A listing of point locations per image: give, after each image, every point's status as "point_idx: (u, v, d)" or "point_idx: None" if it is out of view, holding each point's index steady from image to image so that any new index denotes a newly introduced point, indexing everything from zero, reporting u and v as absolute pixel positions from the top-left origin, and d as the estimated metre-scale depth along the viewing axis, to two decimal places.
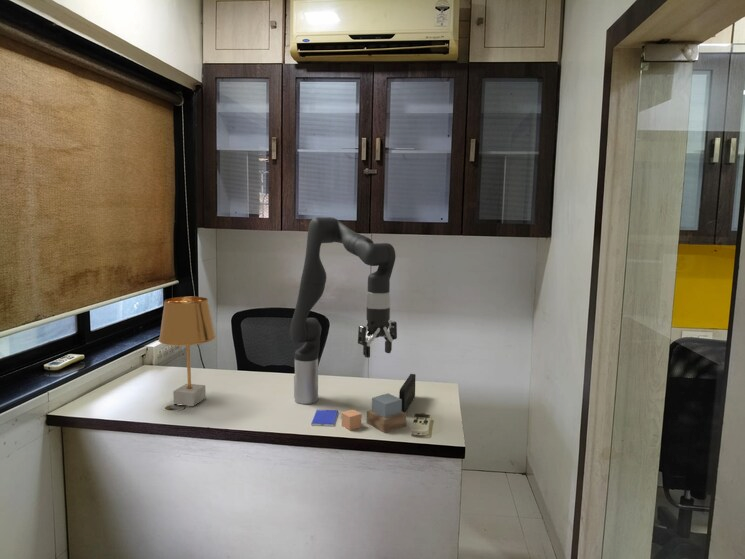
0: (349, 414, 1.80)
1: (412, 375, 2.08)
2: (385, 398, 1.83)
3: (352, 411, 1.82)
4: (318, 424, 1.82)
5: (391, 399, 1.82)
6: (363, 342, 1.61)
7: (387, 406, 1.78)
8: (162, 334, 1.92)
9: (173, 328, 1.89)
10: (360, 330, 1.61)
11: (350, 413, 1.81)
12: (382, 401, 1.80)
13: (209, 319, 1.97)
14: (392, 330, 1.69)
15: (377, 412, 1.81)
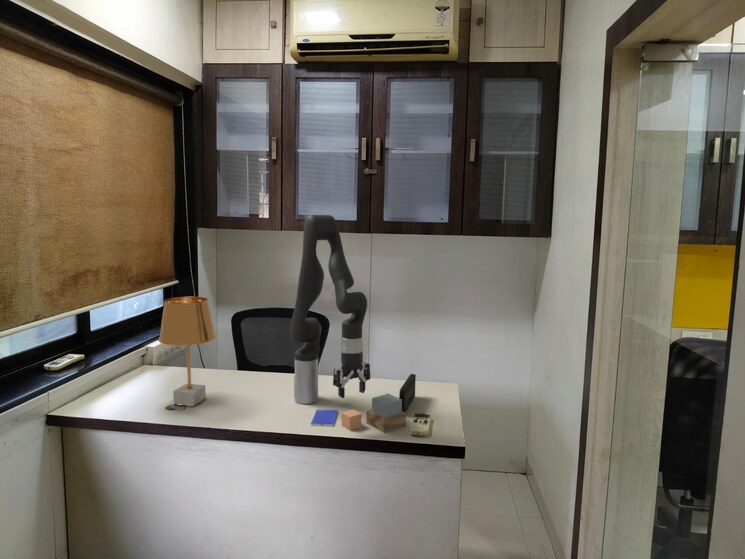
0: (349, 414, 1.80)
1: (412, 375, 2.08)
2: (386, 398, 1.83)
3: (352, 411, 1.83)
4: (318, 424, 1.82)
5: (391, 399, 1.81)
6: (338, 384, 1.74)
7: (387, 406, 1.78)
8: (162, 334, 1.92)
9: (173, 328, 1.89)
10: (335, 373, 1.75)
11: (350, 413, 1.81)
12: (382, 401, 1.79)
13: (209, 319, 1.97)
14: (366, 371, 1.82)
15: (377, 412, 1.81)
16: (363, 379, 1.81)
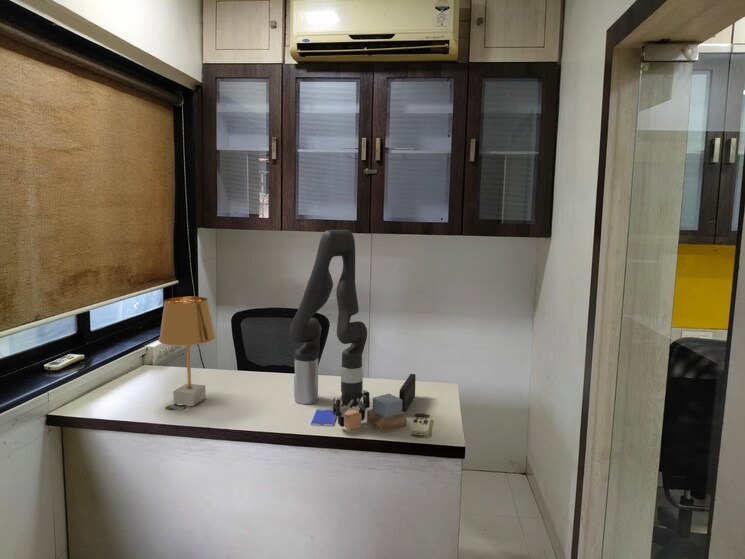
0: (349, 414, 1.80)
1: (412, 375, 2.08)
2: (386, 398, 1.83)
3: (352, 411, 1.82)
4: (318, 424, 1.82)
5: (392, 399, 1.81)
6: (337, 413, 1.76)
7: (387, 406, 1.78)
8: (162, 334, 1.92)
9: (173, 328, 1.89)
10: (335, 403, 1.76)
11: (350, 413, 1.81)
12: (382, 401, 1.79)
13: (209, 319, 1.97)
14: (365, 399, 1.84)
15: (377, 412, 1.81)
16: (362, 407, 1.82)
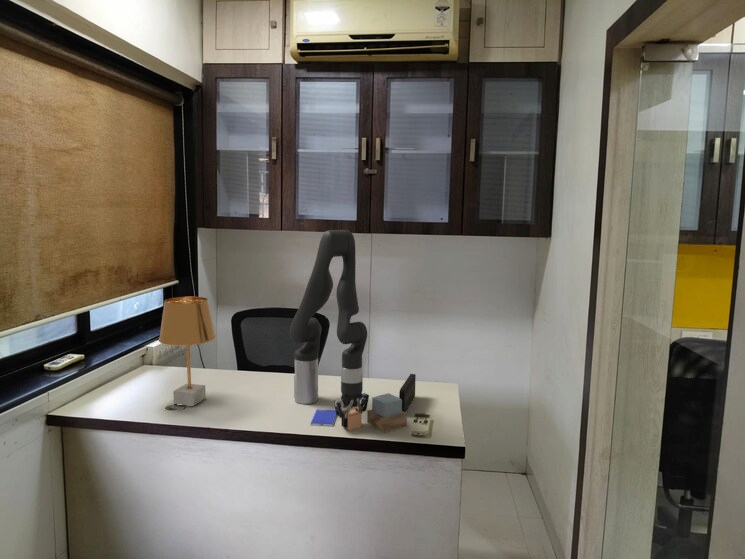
0: (349, 413, 1.80)
1: (412, 375, 2.08)
2: (386, 397, 1.83)
3: (352, 411, 1.82)
4: (317, 424, 1.82)
5: (391, 399, 1.82)
6: (341, 415, 1.77)
7: (387, 406, 1.78)
8: (162, 334, 1.92)
9: (173, 328, 1.89)
10: (336, 406, 1.77)
11: (351, 413, 1.81)
12: (382, 401, 1.80)
13: (209, 319, 1.97)
14: (363, 402, 1.83)
15: (377, 412, 1.81)
16: (359, 411, 1.82)
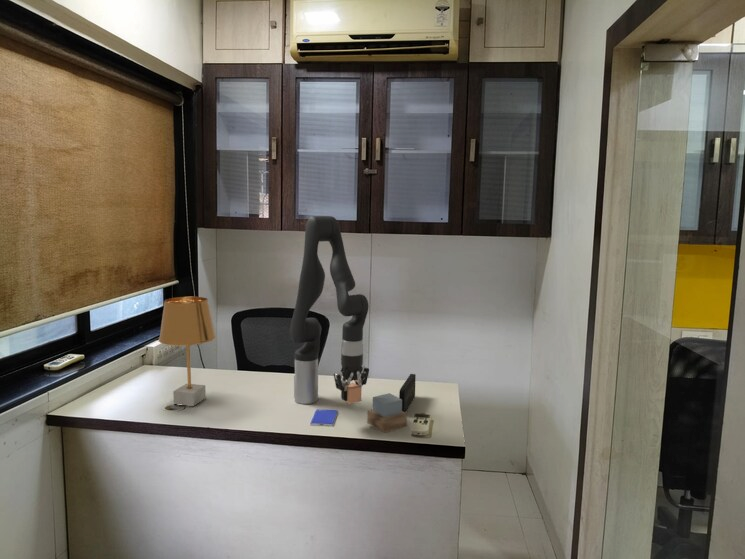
0: (349, 386, 1.79)
1: (412, 375, 2.08)
2: (386, 397, 1.83)
3: (352, 384, 1.81)
4: (317, 424, 1.82)
5: (391, 399, 1.82)
6: (340, 388, 1.76)
7: (387, 406, 1.78)
8: (162, 334, 1.92)
9: (173, 328, 1.89)
10: (335, 378, 1.75)
11: (350, 386, 1.79)
12: (382, 401, 1.80)
13: (209, 319, 1.97)
14: (363, 375, 1.82)
15: (377, 411, 1.81)
16: (359, 384, 1.80)
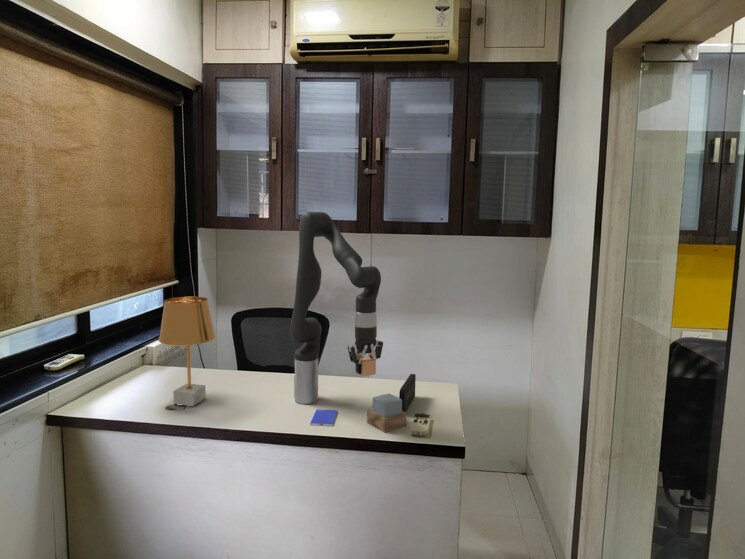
0: (363, 360, 1.78)
1: (412, 375, 2.08)
2: (386, 397, 1.83)
3: (366, 358, 1.80)
4: (317, 424, 1.82)
5: (391, 399, 1.82)
6: (355, 360, 1.74)
7: (386, 406, 1.78)
8: (162, 334, 1.92)
9: (173, 328, 1.89)
10: (350, 351, 1.74)
11: (365, 359, 1.78)
12: (382, 401, 1.80)
13: (209, 319, 1.97)
14: (377, 349, 1.81)
15: (377, 412, 1.81)
16: (373, 357, 1.79)
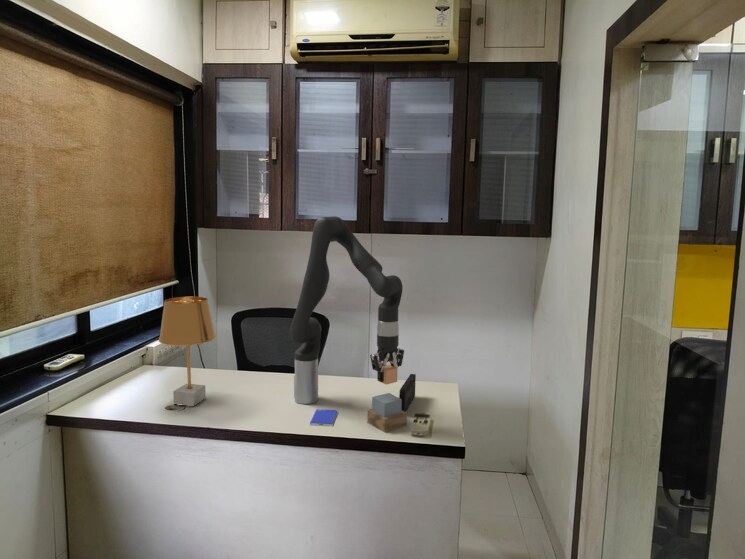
0: (385, 368, 1.80)
1: (412, 375, 2.08)
2: (386, 397, 1.83)
3: (388, 366, 1.82)
4: (317, 424, 1.82)
5: (391, 399, 1.82)
6: (377, 369, 1.77)
7: (386, 405, 1.78)
8: (162, 334, 1.92)
9: (173, 328, 1.89)
10: (372, 359, 1.76)
11: (386, 367, 1.80)
12: (382, 400, 1.80)
13: (209, 319, 1.97)
14: (399, 357, 1.83)
15: (377, 411, 1.82)
16: (395, 365, 1.81)
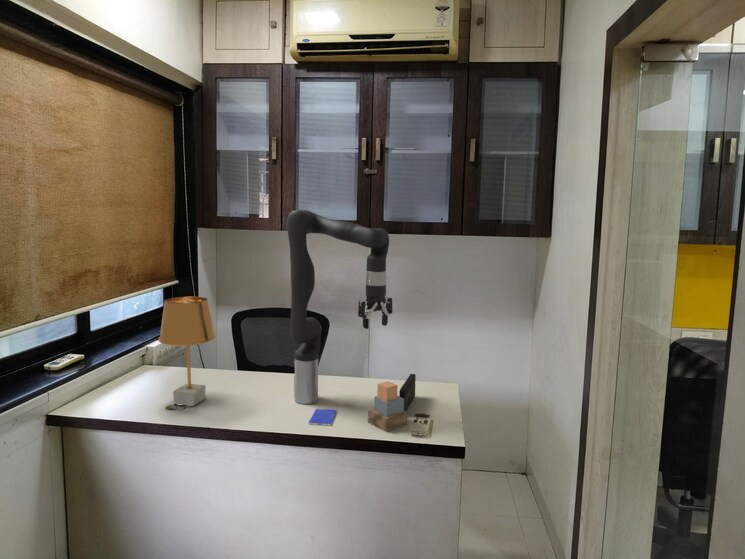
0: (385, 385, 1.81)
1: (412, 375, 2.08)
2: None
3: (388, 383, 1.84)
4: (315, 423, 1.82)
5: None
6: (362, 315, 1.84)
7: (389, 405, 1.79)
8: (162, 334, 1.92)
9: (173, 328, 1.89)
10: (360, 305, 1.84)
11: (387, 384, 1.82)
12: None
13: (209, 319, 1.97)
14: (388, 305, 1.92)
15: (379, 411, 1.82)
16: (386, 312, 1.90)
